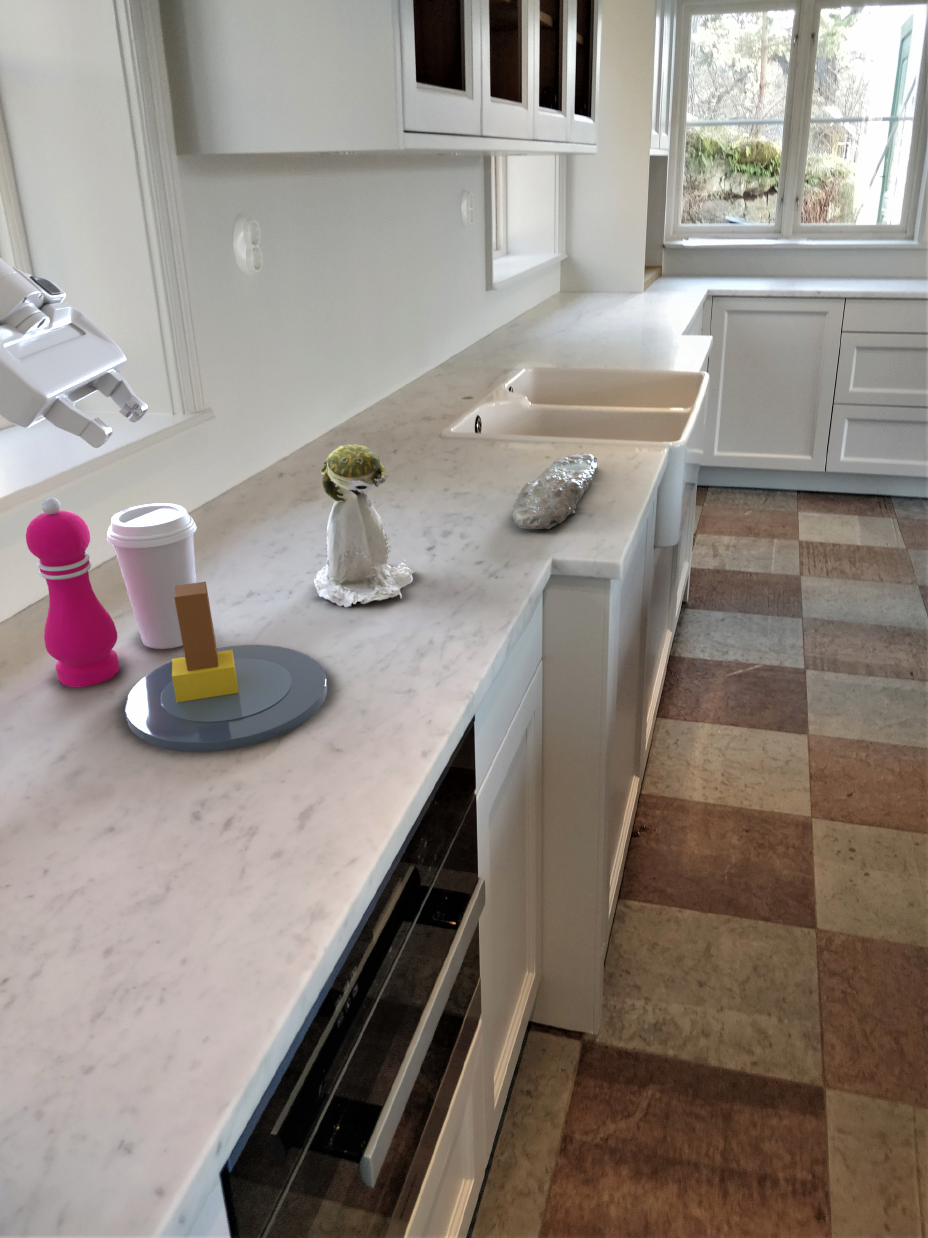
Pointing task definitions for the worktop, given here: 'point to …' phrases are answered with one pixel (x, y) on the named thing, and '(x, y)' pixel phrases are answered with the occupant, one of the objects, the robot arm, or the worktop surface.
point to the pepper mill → (72, 599)
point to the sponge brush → (200, 649)
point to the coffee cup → (155, 566)
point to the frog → (356, 532)
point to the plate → (230, 702)
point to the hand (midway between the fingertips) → (125, 427)
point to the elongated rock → (554, 492)
